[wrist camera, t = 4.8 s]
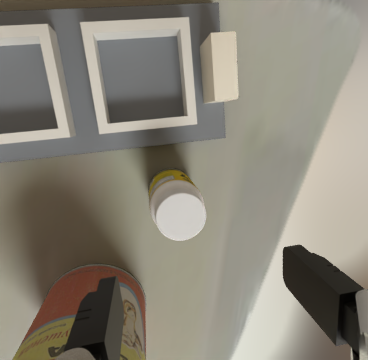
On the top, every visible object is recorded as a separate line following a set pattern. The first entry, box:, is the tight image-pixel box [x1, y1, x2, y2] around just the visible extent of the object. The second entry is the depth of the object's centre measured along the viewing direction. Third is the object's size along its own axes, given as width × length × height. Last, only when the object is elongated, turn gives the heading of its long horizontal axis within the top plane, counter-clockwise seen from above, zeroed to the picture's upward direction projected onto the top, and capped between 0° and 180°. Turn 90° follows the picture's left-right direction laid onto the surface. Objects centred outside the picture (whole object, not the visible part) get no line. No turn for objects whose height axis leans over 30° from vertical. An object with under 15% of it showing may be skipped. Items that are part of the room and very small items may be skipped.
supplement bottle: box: [149, 169, 206, 241], centre depth 24 cm, size 5×5×8 cm
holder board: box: [0, 3, 238, 163], centre depth 21 cm, size 26×12×6 cm, turn 95°
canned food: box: [13, 264, 146, 360], centre depth 24 cm, size 11×11×12 cm
